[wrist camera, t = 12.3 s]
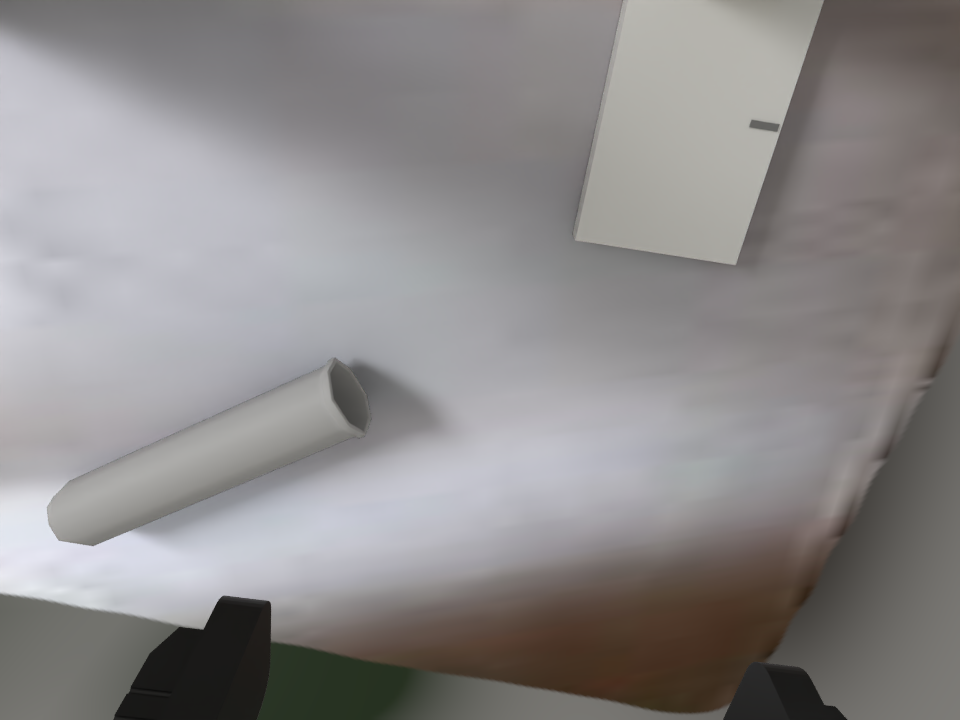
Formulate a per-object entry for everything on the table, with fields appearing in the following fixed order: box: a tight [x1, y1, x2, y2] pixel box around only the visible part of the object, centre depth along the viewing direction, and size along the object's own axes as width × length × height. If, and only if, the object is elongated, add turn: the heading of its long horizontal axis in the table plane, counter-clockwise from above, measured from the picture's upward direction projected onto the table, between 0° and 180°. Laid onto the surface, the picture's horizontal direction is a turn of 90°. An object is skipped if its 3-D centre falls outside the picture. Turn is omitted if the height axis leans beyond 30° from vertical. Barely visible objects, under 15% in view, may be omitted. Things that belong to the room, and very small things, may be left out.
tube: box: [47, 358, 371, 546], centre depth 45 cm, size 5×5×25 cm
